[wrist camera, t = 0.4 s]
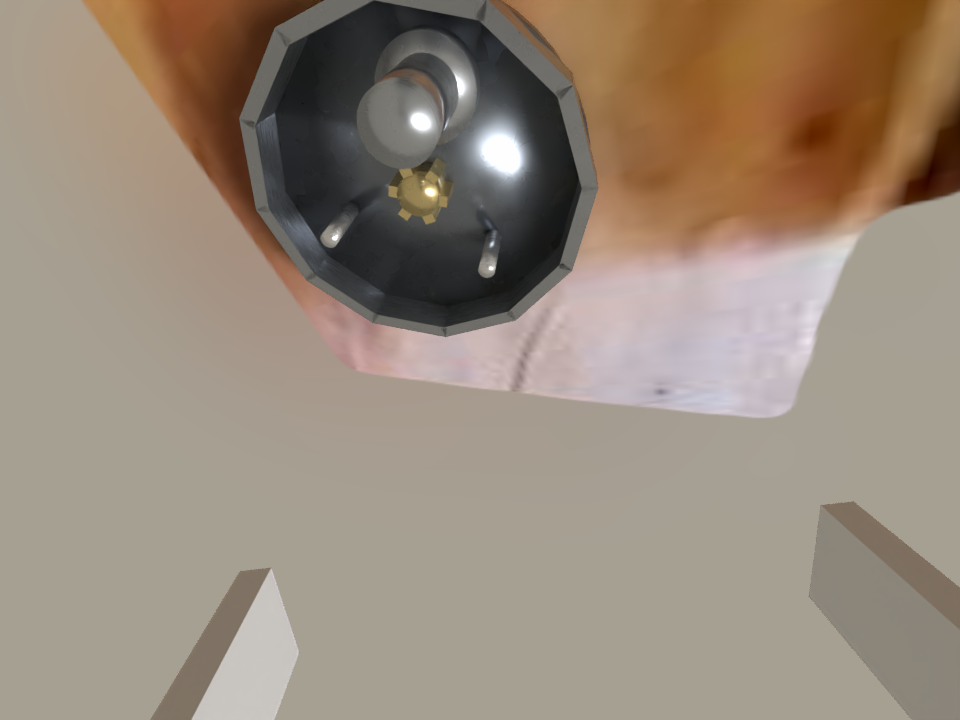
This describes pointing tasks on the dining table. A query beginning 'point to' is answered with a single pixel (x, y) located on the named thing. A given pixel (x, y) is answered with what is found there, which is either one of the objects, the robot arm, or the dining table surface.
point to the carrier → (420, 159)
